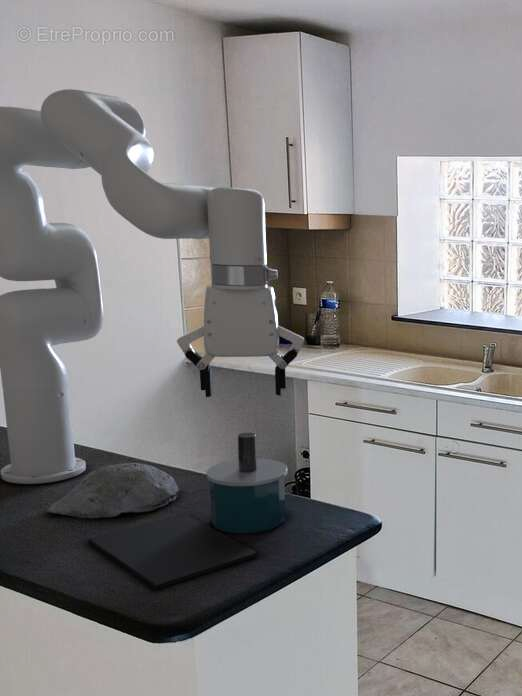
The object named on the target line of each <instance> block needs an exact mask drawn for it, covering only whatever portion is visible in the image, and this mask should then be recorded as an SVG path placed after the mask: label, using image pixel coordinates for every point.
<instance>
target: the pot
mask: <svg viewBox="0 0 522 696" xmlns="http://www.w3.org/2000/svg"><path fill="white" fill-rule="evenodd" d="M285 479H286V476H285V477H283V478H281V479H279V480H277V481H274V482H271V483H267V484H261V485H254V486H226V485H220V484H216V483H213V482H211V481H209V492H210V493H209V494H210V514H211V516H210V517H211V523H212V526H213V527H214V529H215V530H217V531H219V532H225V533H229V534H255V533H261V532H265V531H269V530H272V529H275V528H276V527H279V526H280V525H282V524H283V523H284V522H285V521H286V518H287V517H286V512H287V511H286V480H285Z"/></svg>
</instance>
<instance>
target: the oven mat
mask: <svg viewBox="0 0 522 696" xmlns="http://www.w3.org/2000/svg"><path fill="white" fill-rule="evenodd" d="M88 543H89V544H90V545H92V546H93V547H94V548H96V549H97V550H99V551H100V552H102V553H104V554H105V555H106V556H108V557H109V558H110V559H112V560H113V561H115V562H116V563H118V564H120V565H121V566H122V567H124V568H125V569H126V570H128V571H130V572H131V573H132V574H133V575H135V576H137V577H138V578H140V579H141V580H142V581H144V582H145V583H147V584H148V585H150V586H151V587H152V588H154V589H156V590H159V589H162V588H164V587H168V586H171V585H174V584H177V583H180V582H183V581H186V580H189V579H193V578H195V577H198V576H202V575H205V574H208V573H211V572H214V571H217V570H221V569H223V568H226V567H229V566H230V567H231V566H232V565H236V564H238V563H242V562H245V561H248V560H251V559H254V558H257V557H258V552H257V551H255V550H254V549H251V548H249V547H248V546H246V545H244V544H242V543H240V542H239V541H237V540H235V539H233V538H231V537H229V536H227V535H226V534H223V533H222V532H221V531H219V530H217V529H216V528H213V527H211V526H209V525H207V524H206V523H204V522H202V521H200V520H198V519H196V518H194V517H193V516H191V515H189V514H187V513H183V514H178V515H175V516H170V517H167V518H163V519H158V520H155V521H151V522H147V523H144V524H141V525H137V526H136V525H135V526H133V527H128V528H125V529H121V530H118V531H113V532H110V533H105V534H101V535H98V536H94V537H90V538H88Z"/></svg>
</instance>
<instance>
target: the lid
mask: <svg viewBox="0 0 522 696" xmlns="http://www.w3.org/2000/svg"><path fill="white" fill-rule="evenodd" d="M236 437H237V439H236V441H237V459H233V460H231V459H230V460H227V461H224V462H219V463H217V464H214V465H211V466H210V467H209V468H208V469H207V470H206V479H207V480H208V481H209V482H210V481H211V482H213V483H216V484H220V485H226V486H254V485H261V484H267V483H271V482H274V481H277V480H279V479H281V478H283V477H285V478H286V476H287V475H288V473H289V467H288V466H287V464H285V463H284V462H282V461H279V460H275V459H269V458H257V435H256V433H254V432H240V433H237V436H236Z"/></svg>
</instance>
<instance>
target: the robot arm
mask: <svg viewBox="0 0 522 696" xmlns="http://www.w3.org/2000/svg"><path fill="white" fill-rule="evenodd" d="M153 148H154V147H153V145H152V144H151V141H150V140H149V139H148V137H146V125H145V120H144V118H143V115H142V114H141V112H140V110H138V108H137V107H136V106H135V105H133V104H132V103H131V102H130V101H128V100H126V99H124V98H121V97H118V96H115V95H114V96H113V95H110V94H109V95H108V94H103V93H97V92H92V91H88V90H87V91H86V90H80V89H72V88H70V89H69V88H68V89H67V88H65V89H61V90H57V91H54V92H52V93H50V94H49V95H48V96H46V98H45V99H44V100H43V102H42V104H41V107H40V110H37V109H31V108H25V107H24V108H22V107H17V106H0V278H2V279H4V280H7V281H12V282H37V281H38V282H40V281H54V283H55V287H51V288H32V289H31V288H30V289H19V290H12V291H7V292H5V293H2V294H0V379H1V387H2V394H3V403H4V414H5V421H6V423H5V424H6V433H7V443H8V450H9V460H10V461H9V462H10V464H9V463H8V464H7V465H5V466H4V467H2V468H1V470H0V478H1V479H2V480H3V481H5V482H8V483H11V484H19V485H38V484H39V485H40V484H49V483H53V482H54V483H55V482H60V481H64V480H65V481H66V480H68V479H71V478H74V477H76V476H79V475H81V474H82V473H84V472H85V471H86V469H87V463H86V461H85V460H84V459H82V458H80V457H76V454H75V442H74V440H75V439H74V431H73V429H74V428H73V419H72V407H71V396H70V383H69V376H68V375H69V374H68V370H67V368H66V365H65V364H64V362H63V361H62V359H61V358H60V357H59V355H58V354H57V353H56V352H55V350H54V349H53V346H57V345H63V344H68V343H69V344H70V343H76V342H82V341H87V340H90V339H93V338H95V337H96V336H97V335H99V333H100V332H101V330H102V328H103V325H104V315H105V313H104V304H103V296H102V295H103V294H102V287H101V286H102V285H101V279H100V278H101V277H100V269H99V263H98V262H99V261H98V256H97V251H96V248H95V246H94V243H93V241H92V240H91V238H90V236H89V235H88V234H87V233H86V232H85V230H83V229H82V228H80V227H79V226H77V225H75V224H71V223H66V222H48V220H47V217H46V212H45V203H44V197H43V194H42V192H41V190H40V188H39V187H38V185H37V184H36V182H35V180H34V179H33V178H32V176H30V175H29V173H28V172H27V171H26V170H25V169H24V168H23V167H24V166H35V167H44V168H54V169H66V170H68V169H69V170H80V169H87V168H91V169H92V170H94V171H95V172H96V173H97V174H98V175H100V176H101V185H102V189H103V192H104V194H105V197H106V199H107V202H108V203H109V205H110V206H111V207H112V209H113V210H114V211H115V212H116V213H118V215H120V216H121V217H122V218H124V219H125V220H126V221H127V222H129V223H130V224H131V225H132V226H134V227H135V228H137V229H138V230H140V231H141V232H143V233H145V234H146V235H147V236H151V237H154V238H156V239H162V240H178V239H179V240H180V239H182V240H183V239H184V240H187V239H191V240H208V242H209V243H208V245H209V262H210V263H209V265H210V280H211V281H210V283H211V285H207V286H206V290H205V297H204V307H203V325H202V326H199V327H198V328H195V329H194V330H191V331H189V332H187V333H185V334H184V335H181V336H179V337H178V338H177V340H176V343H177V344H178V345H177V346H179V348H180V350H181V351H182V353H183V354H184V356H185V358H186V359H187V360H188V361H190V362H191V363H192V364H193V365H194V366H195V367H196V368H197V370H199V381H200V382H199V383H200V391H205V393H204V394H205V398H211V397H212V395H213V393H214V382H213V367H211V362H212V361H213V360H214V358H215V357H216V358H218V357H219V358H251V357H254V358H255V357H256V358H257V357H258V358H259V357H269V358H270V359H271V361H272V362H273V363H274V364H275V367H274V380H275V381H274V382H275V395H276V396H282V390H285V389H286V388H287V382H286V381H287V379H286V376H287V375H286V368H287V367H288V366H289V365H290V363H292V362H293V361H294V360H295V359H296V358H297V357H298V354H299V352H300V351H301V348H302V347H303V345H304V343H305V338H304V337H303V336H301V335H300V334H297V333H295V332H293V331H292V330H289V329H287V328H285V327H283V326H280V325H279V318H278V317H279V315H278V307H277V300H276V293H275V290H274V287H273V286H271V285H268V282H270V281H273V280H278V269H272V268H270V267H269V266H268V264H267V239H266V236H267V235H266V207H265V199H264V195H263V194H262V193H261V192H260V191H258V190H257V189H252V188H245V187H244V188H243V187H215V186H209V185H197V184H196V185H195V184H185V183H170V182H169V183H168V182H167V183H166V182H160V181H159V180H157V179H155V178H154V177H152V176H150V175H149V174H148V173H149V172H150V169H151V168H152V165H153V163H154V162H153V161H154V149H153ZM201 338H203V346H204V351H205V353H204V354H203V356H202V355H201V354H199V353H198V352H197V351H196V350H195V349H194V347H193V346H192V344H191V343H192V342H194V341H196V340H198V339H201ZM280 338H282V339H284V340H287V341H288V342H291V343H292V344H291V347H290V349H289V350H288V351H287V352H286V353H284V355H283V354H282V353H281V351H280V350H279V347H280Z"/></svg>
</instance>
